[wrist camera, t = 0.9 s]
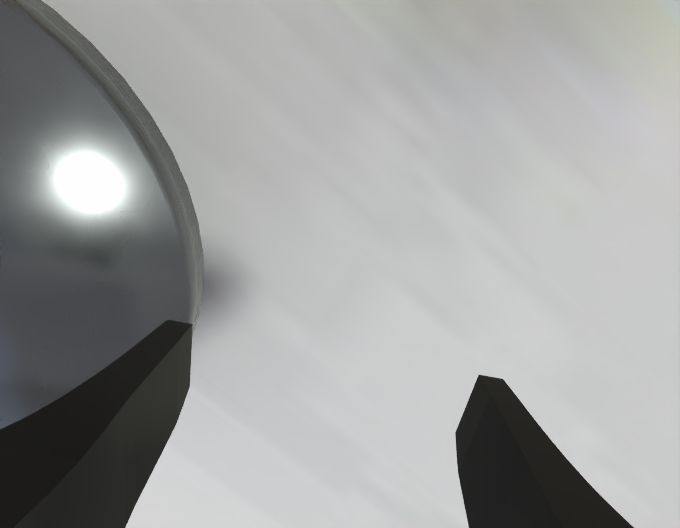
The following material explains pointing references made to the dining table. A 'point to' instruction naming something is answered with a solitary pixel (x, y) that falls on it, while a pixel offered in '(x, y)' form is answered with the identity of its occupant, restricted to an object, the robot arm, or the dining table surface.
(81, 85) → the cooker lid
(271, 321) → the dining table surface
